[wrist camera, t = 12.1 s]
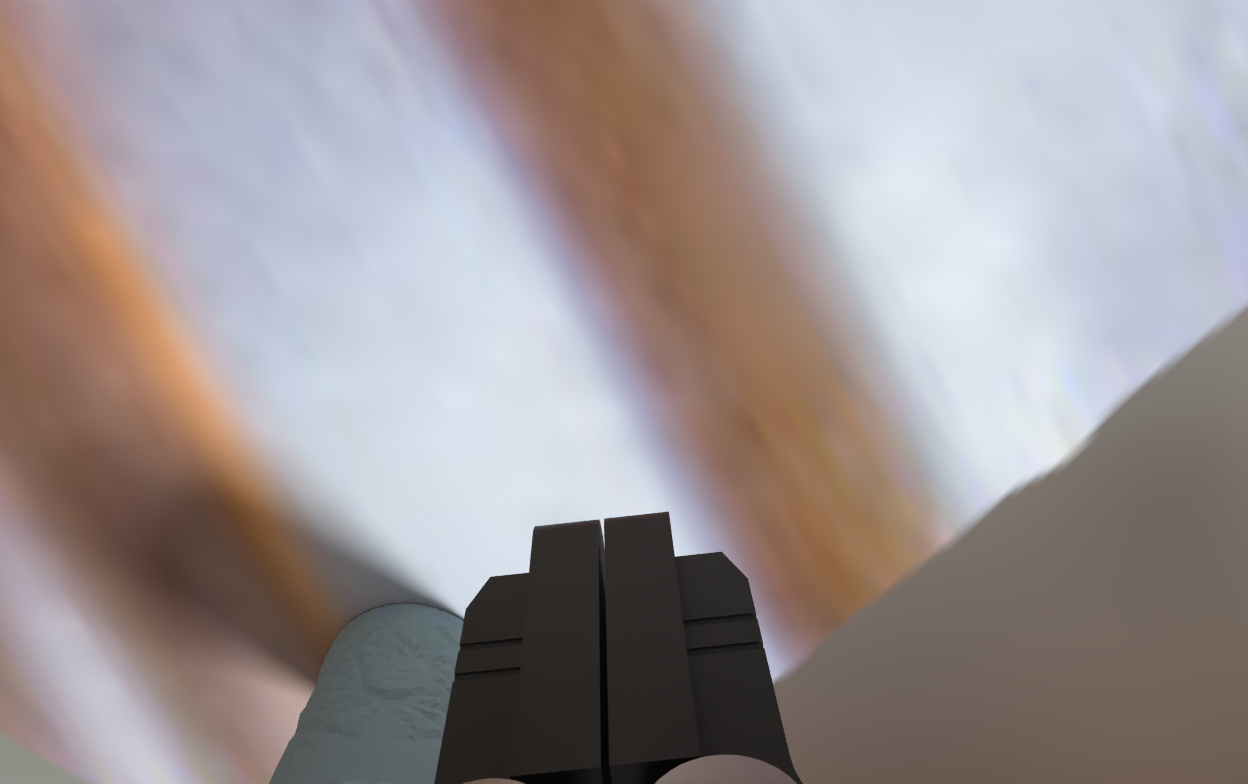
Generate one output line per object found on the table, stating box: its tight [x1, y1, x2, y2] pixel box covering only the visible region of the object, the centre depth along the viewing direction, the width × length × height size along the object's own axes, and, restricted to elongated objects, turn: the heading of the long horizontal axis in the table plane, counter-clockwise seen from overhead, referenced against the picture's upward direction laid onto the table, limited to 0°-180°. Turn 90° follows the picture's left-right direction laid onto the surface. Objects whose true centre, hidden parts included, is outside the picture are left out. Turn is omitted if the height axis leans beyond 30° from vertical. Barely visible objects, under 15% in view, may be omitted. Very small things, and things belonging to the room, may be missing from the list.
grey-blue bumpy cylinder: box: [269, 603, 464, 784], centre depth 45 cm, size 10×10×12 cm
